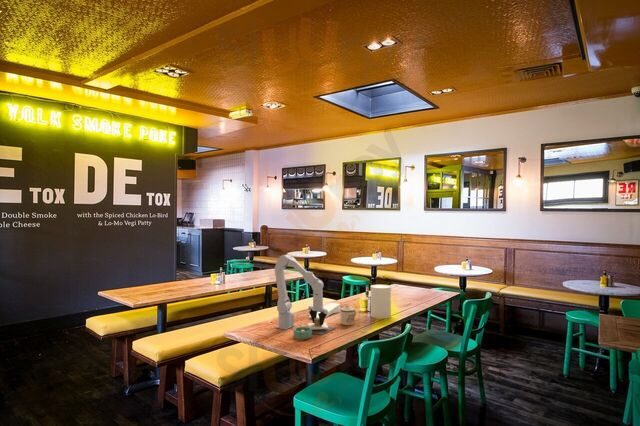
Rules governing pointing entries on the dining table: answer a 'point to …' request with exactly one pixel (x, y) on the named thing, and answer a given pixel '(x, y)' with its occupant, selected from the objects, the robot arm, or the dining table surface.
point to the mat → (322, 331)
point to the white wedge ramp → (330, 309)
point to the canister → (380, 301)
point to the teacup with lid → (347, 315)
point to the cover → (317, 324)
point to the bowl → (302, 332)
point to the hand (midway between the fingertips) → (317, 323)
